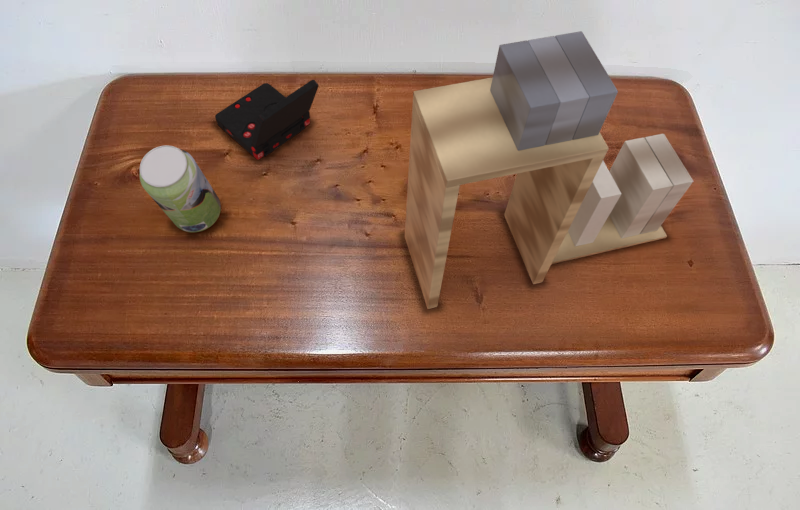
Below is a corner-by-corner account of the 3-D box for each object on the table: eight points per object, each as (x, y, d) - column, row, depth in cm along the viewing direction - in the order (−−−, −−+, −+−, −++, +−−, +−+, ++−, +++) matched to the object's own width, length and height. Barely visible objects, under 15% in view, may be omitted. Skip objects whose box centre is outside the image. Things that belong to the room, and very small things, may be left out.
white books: (665, 238, 74) (705, 186, 65) (544, 266, 72) (567, 216, 63) (633, 180, 78) (666, 125, 69) (517, 205, 76) (535, 151, 67)
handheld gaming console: (269, 88, 85) (256, 30, 76) (327, 135, 81) (321, 79, 72) (214, 124, 81) (194, 67, 73) (273, 175, 77) (259, 121, 69)
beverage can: (227, 195, 76) (202, 130, 65) (216, 246, 72) (188, 185, 62) (176, 193, 76) (144, 128, 65) (163, 244, 72) (126, 183, 61)
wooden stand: (542, 282, 71) (631, 104, 45) (427, 309, 68) (453, 138, 43) (512, 213, 75) (578, 17, 50) (404, 236, 73) (415, 44, 48)
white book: (593, 242, 73) (621, 193, 64) (574, 246, 73) (601, 198, 64) (570, 196, 76) (594, 144, 68) (553, 200, 76) (574, 148, 67)
